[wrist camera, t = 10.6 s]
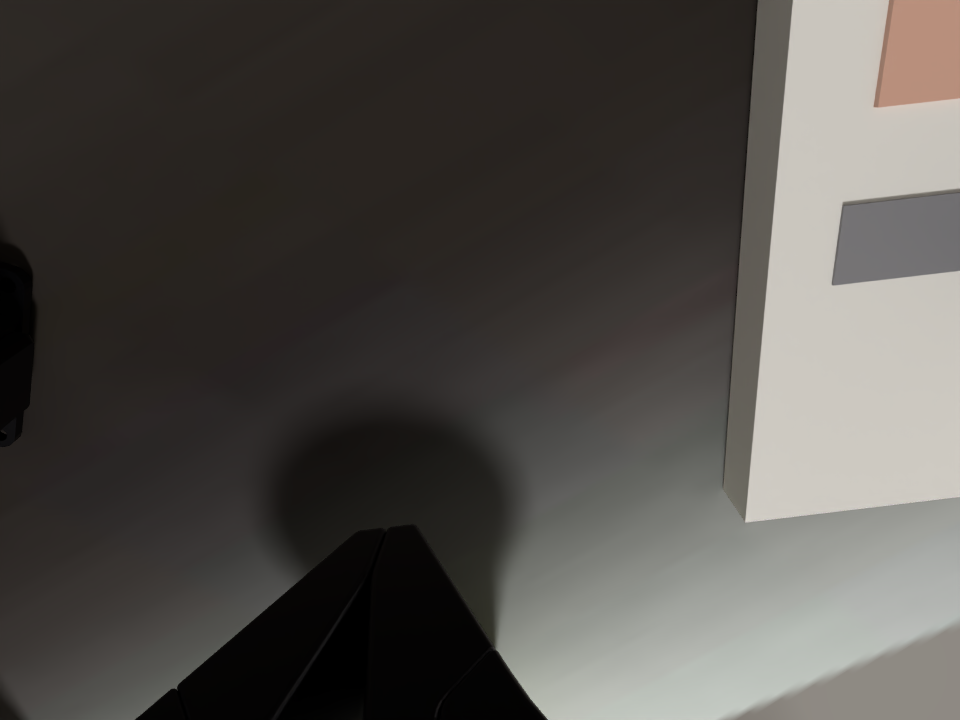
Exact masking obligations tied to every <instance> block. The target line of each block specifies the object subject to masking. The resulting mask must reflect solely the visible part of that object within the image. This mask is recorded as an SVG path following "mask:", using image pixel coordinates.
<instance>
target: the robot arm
mask: <svg viewBox="0 0 960 720" xmlns="http://www.w3.org/2000/svg"><path fill="white" fill-rule="evenodd" d="M6 277H8V278H10V279H12V280H13V281H14V283H15V285H16V289H14V288H12V287H10V286H9V285H8V284H7V282H6ZM31 297H32V281H31V279H30V277H29V275H28V274H27V273H26V272H25V271H24V270H23V269H21V268H18V267H16V266H13V265H9V264H6V263H2V262H0V430H1V429H3V430H4V431H5V432H6V434H4V433H2V432H1V431H0V447H6V446H10V445H11V444H12V443H13V442H14V441H16V440H17V439H18V438H19V437H20V436H21V433H22V423H23V411H24V410H25V409H27V408H28V407H29V404H30V392H31V378H32V365H33V352H34V342H33V340H32V339H31V337H30V336H29V325H30V311H31ZM177 690H178V691H177ZM135 720H548V719H547V718H546V717H545V716H544V715H543V713H542V712H541V711H540V710H539V709H538V707H537V706H536V705H535V704H534V703H533V701H532V700H531V699H530V698H529V696H528V695H527V693H526V692H525V691H524V689H523V688H522V686H521V685H520V684H519V682H518V681H517V679H516V678H515V677H514V675H513V674H512V672H511V671H510V669H509V668H508V666H507V665H506V663H505V662H504V660H503V659H502V657H501V655H500V654H499V652H498V651H496V650H495V647H494V646H493V644H492V643H491V641H490V640H489V638H488V636H487V635H486V633H485V632H484V630H483V629H482V627H481V625H480V624H479V622H478V621H477V619H476V618H475V616H474V615H473V613H472V611H471V610H470V608H469V607H468V605H467V604H466V602H465V600H464V599H463V597H462V596H461V594H460V593H459V591H458V589H457V588H456V586H455V585H454V583H453V582H452V580H451V579H450V577H449V575H448V574H447V572H446V571H445V569H444V568H443V566H442V564H441V563H440V561H439V560H438V558H437V557H436V555H435V553H434V552H433V550H432V549H431V547H430V546H429V544H428V543H427V541H426V539H425V538H424V536H423V535H422V533H421V532H420V530H419V528H418V527H417V526H416V525H414V524H411V525H403V526H395V527H390V528H389V529H388V530H387V531H386V530H385V529H383V528H378V529H369V530H360V531H358V532H356V533H355V534H353V535H352V536H351V537H350V538H349V539H348V540H346V541H345V542H344V543H343V544H342V545H341V546H339V547H338V548H337V549H336V550H335V551H334V552H332V553H331V554H330V555H329V556H328V557H327V558H325V559H324V560H323V561H322V562H321V563H320V564H318V565H317V566H316V567H315V568H314V569H313V570H311V571H310V572H309V573H308V574H307V575H306V576H304V577H303V578H302V579H301V580H300V581H299V582H297V583H296V584H295V585H294V586H293V587H292V588H290V589H289V590H288V591H287V592H286V593H284V594H283V595H282V596H281V597H280V598H279V599H277V600H276V601H275V602H274V603H273V604H272V605H270V606H269V607H268V608H267V609H266V610H265V611H263V612H262V613H261V614H260V615H259V616H258V617H256V618H255V619H254V620H253V621H252V622H251V623H249V624H248V625H247V626H246V627H245V628H244V629H242V630H241V631H240V632H239V633H238V634H237V635H235V636H234V637H233V638H232V639H231V640H230V641H228V642H227V643H226V644H225V645H224V646H223V647H221V648H220V649H219V650H218V651H217V652H216V653H214V654H213V655H212V656H211V657H210V658H209V659H207V660H206V661H205V662H204V663H203V664H202V665H200V666H199V667H198V668H197V669H196V670H195V671H193V672H192V673H191V674H190V675H189V676H188V677H186V678H185V679H184V680H183V681H182V682H181V683H179V684H178V686H177V689H171V690H170V691H168V692H167V693H166V694H165V695H164V696H162V697H161V698H160V699H159V700H158V701H157V702H155V703H154V704H153V705H152V706H151V707H150V708H148V709H147V710H146V711H145V712H144V713H143V714H141V715H140V716H139V717H138V718H136V719H135Z"/></svg>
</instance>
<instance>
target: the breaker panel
mask: <svg viewBox="0 0 960 720" xmlns="http://www.w3.org/2000/svg"><path fill="white" fill-rule="evenodd" d="M723 490H724V491H725V493H726V494H727V496H728V497H729V499H730V500H731V502H732V503H733V505H734V506H735V508H736V509H737V511H738V512H739V514H740V515H741V517H742V518H743V520H744V521H745V522H754V521H762V520H770V519H779V518H787V517H795V516H804V515H812V514H820V513H829V512H837V511H845V510H854V509H862V508H870V507H879V506H887V505H896V504H904V503H912V502H921V501H929V500H937V499H946V498H954V497H960V0H758V6H757V20H756V34H755V48H754V62H753V76H752V90H751V104H750V119H749V133H748V147H747V161H746V175H745V189H744V203H743V217H742V231H741V245H740V259H739V273H738V287H737V301H736V315H735V329H734V343H733V357H732V371H731V385H730V399H729V413H728V427H727V441H726V455H725V469H724V483H723Z"/></svg>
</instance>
